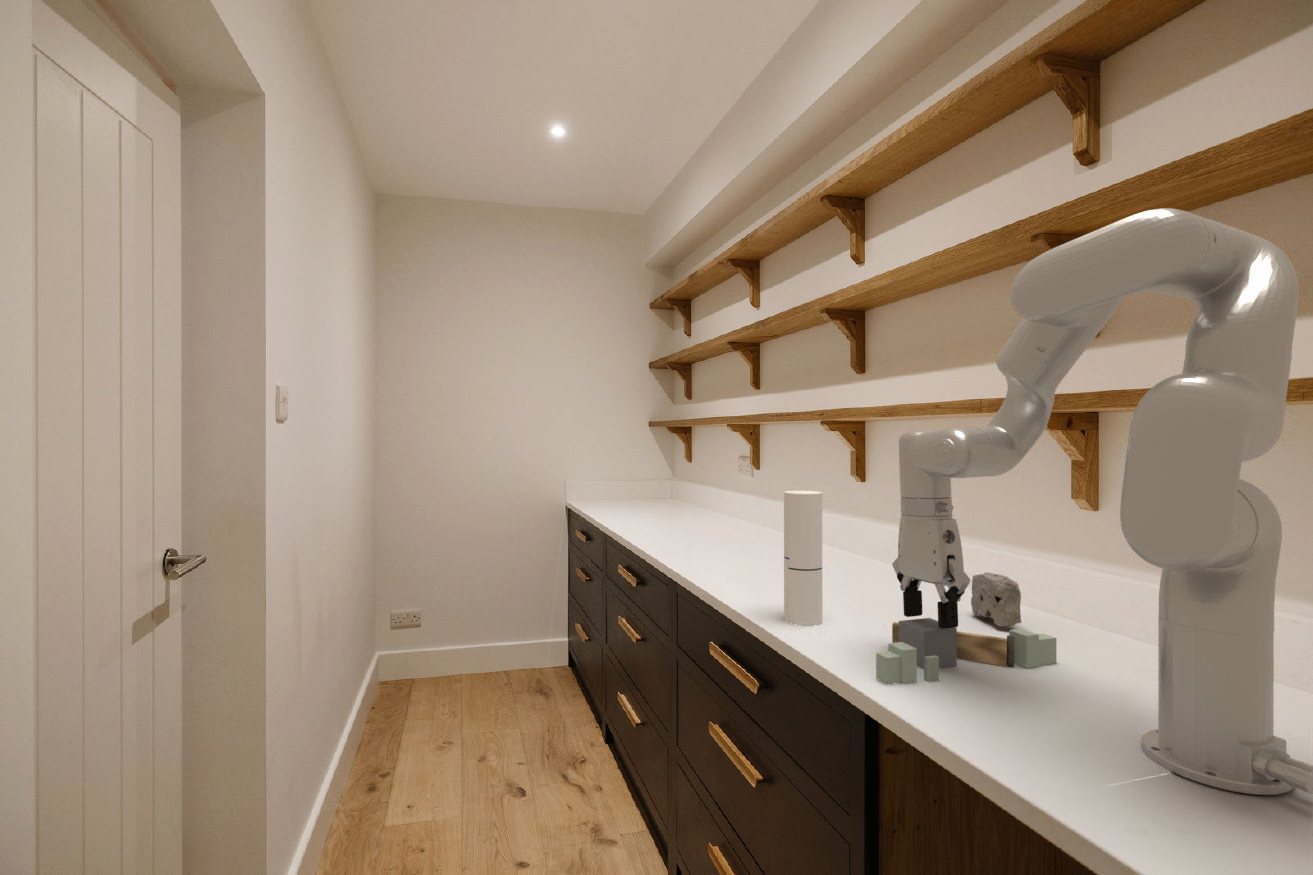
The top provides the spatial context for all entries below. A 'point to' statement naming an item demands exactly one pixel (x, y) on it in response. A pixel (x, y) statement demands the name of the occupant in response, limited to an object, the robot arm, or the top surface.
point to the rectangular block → (930, 640)
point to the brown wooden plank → (978, 647)
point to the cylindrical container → (803, 557)
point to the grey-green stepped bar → (903, 658)
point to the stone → (996, 598)
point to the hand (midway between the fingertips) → (930, 620)
